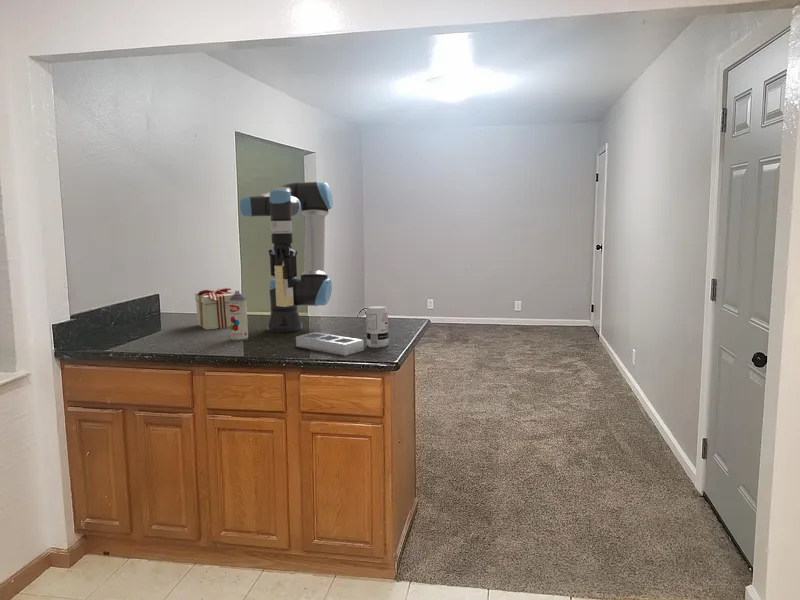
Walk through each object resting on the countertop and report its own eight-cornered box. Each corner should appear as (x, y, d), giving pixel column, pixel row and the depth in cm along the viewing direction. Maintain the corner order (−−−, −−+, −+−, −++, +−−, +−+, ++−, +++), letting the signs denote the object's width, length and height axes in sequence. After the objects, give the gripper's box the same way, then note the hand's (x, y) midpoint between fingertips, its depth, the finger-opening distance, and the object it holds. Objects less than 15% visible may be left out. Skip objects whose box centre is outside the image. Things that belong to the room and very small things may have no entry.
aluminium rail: (296, 346, 242) (295, 336, 242) (315, 341, 250) (315, 332, 250) (345, 355, 226) (344, 344, 226) (363, 350, 234) (363, 339, 233)
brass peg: (276, 305, 234) (274, 265, 232) (285, 304, 237) (283, 264, 235) (284, 306, 231) (282, 266, 229) (293, 305, 234) (291, 265, 232)
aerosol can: (227, 340, 257) (224, 291, 254) (239, 337, 263) (236, 289, 260) (240, 341, 254) (237, 292, 251) (251, 338, 259) (249, 290, 256)
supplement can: (366, 343, 245) (365, 305, 243) (387, 343, 246) (386, 305, 244) (367, 348, 237) (366, 309, 235) (389, 347, 238) (388, 308, 236)
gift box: (210, 331, 276) (207, 292, 273) (194, 326, 290) (191, 289, 287) (246, 326, 286) (244, 289, 284) (229, 321, 300) (227, 285, 298)
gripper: (258, 232, 233) (261, 295, 236) (289, 233, 222) (292, 298, 225) (274, 231, 239) (277, 292, 242) (305, 232, 227) (308, 296, 231)
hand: (284, 295), depth 234 cm, fingers closed on brass peg, 4 cm apart
